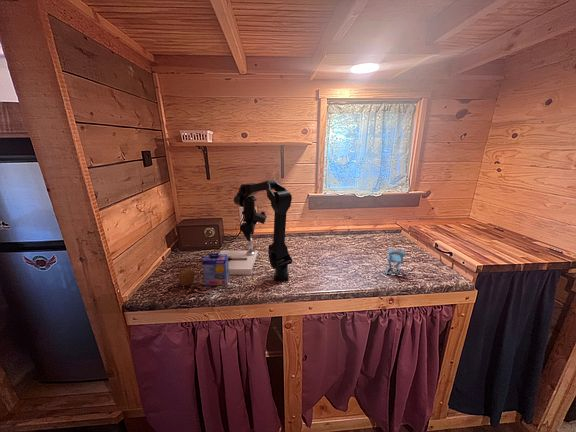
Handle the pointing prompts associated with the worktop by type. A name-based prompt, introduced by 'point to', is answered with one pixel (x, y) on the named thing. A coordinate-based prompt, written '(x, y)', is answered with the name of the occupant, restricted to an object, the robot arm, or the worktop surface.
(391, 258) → the chair
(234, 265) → the keyhole board
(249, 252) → the steel peg
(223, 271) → the ink cartridge box
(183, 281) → the fruit
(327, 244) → the worktop surface
